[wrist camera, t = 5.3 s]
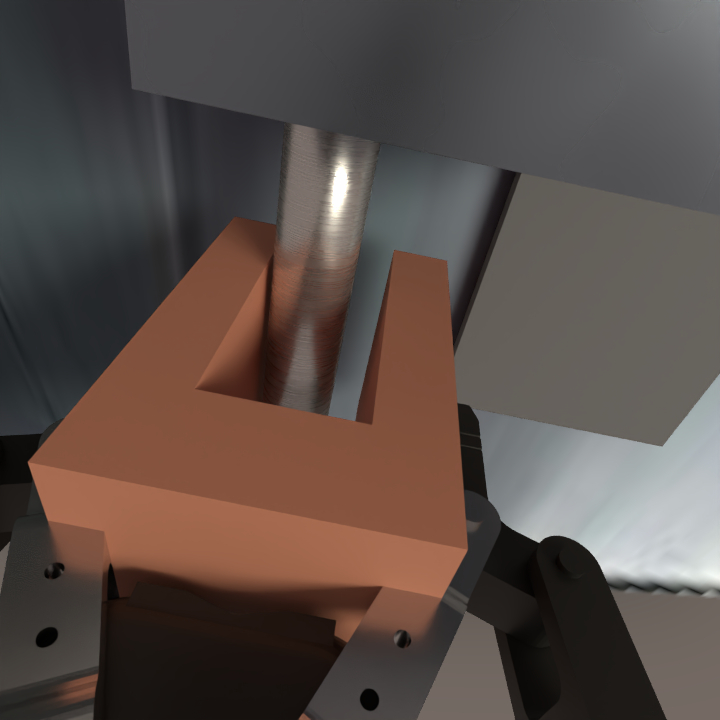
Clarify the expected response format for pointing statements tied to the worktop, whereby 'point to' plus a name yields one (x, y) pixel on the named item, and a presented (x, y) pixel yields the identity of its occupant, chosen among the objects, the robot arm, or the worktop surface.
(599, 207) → the mat
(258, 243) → the notched orange block
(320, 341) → the vise block
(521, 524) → the worktop surface
